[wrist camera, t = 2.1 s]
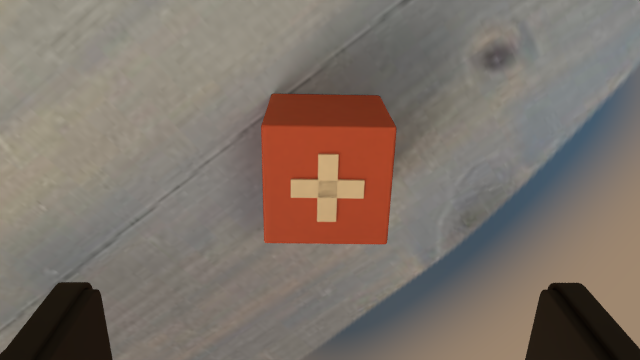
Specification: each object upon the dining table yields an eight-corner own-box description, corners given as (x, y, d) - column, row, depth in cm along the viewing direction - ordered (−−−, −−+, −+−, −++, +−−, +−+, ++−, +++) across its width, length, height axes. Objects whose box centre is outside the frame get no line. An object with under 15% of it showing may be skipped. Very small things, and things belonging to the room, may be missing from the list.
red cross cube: (380, 94, 21) (397, 127, 17) (373, 193, 23) (387, 246, 19) (271, 93, 21) (260, 125, 17) (272, 192, 23) (263, 245, 19)
